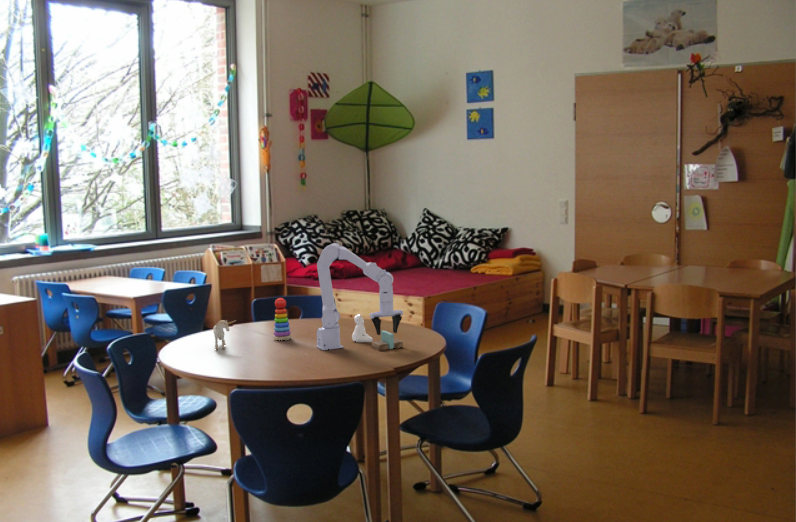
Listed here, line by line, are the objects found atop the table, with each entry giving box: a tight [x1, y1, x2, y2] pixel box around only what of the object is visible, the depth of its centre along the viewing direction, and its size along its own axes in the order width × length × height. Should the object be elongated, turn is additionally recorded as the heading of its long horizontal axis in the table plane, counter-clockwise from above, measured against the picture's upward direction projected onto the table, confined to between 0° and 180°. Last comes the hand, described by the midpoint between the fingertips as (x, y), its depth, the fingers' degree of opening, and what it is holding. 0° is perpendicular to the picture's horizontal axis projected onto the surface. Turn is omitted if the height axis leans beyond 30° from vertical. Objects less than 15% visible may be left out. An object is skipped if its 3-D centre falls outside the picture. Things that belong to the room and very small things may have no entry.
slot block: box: [371, 338, 404, 351], centre depth 318 cm, size 11×7×2 cm, turn 117°
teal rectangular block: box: [380, 330, 395, 350], centre depth 317 cm, size 2×9×6 cm, turn 26°
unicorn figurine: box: [212, 319, 237, 351], centre depth 322 cm, size 7×20×13 cm, turn 33°
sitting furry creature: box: [351, 313, 374, 343], centre depth 331 cm, size 10×9×12 cm
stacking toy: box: [273, 297, 292, 342], centre depth 338 cm, size 8×8×19 cm
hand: (386, 333), depth 317 cm, fingers open, 7 cm apart
